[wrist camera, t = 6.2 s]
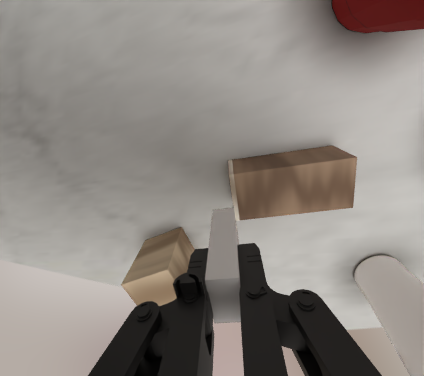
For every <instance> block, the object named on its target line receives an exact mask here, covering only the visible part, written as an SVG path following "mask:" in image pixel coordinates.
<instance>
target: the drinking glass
mask: <svg viewBox="0 0 424 376" xmlns="http://www.w3.org/2000/svg"><path fill="white" fill-rule="evenodd" d="M354 277H355V281H356V284H357V285H358V287H359V288H360V290H361V291H362V293H363V294H364V296H365V297H366V299H367V301H368V302H369V304H370V306H371V308H372V309H373V311H374V313H375V315H376V316H377V318H378V320H379V322H380V323H381V325H382V327H383V329H384V330H385V332H386V334H387V336H388V338H389V339H390V341H391V343H392V344H393V346H394V348H395V350H396V352H397V354H398V355H399V357H400V359H401V361H402V362H403V364H404V366H405V368H406V369H407V371H408V373H409V375H410V376H424V283H423V282H422V281H420V280H419V279H418V278H417V277H416V276H414V275H413V274H412V273H411V272H410V271H409V270H408V269H407V268H406V267H405V266H404V265H402V264H401V263H400V262H399V261H398V260H396V259H395V258H392V257H390V256H384V255H379V256H373V257H370V258H368V259H366V260H364V261H363V262H361V263H360V264H359V265H358V267H357V268H356V270H355V274H354Z"/></svg>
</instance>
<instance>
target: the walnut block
mask: <svg viewBox="0 0 424 376" xmlns="http://www.w3.org/2000/svg"><path fill="white" fill-rule="evenodd" d="M356 164H357V157H355V156H353V155H351V154H349V153H347V152H345V151H343V150H341V149H339V148H336V147H334V146H325V147H318V148H311V149H304V150H297V151H290V152H283V153H276V154H269V155H262V156H255V157H248V158H241V159H234V160H228V167H229V180H230V187H231V194H232V201H233V207H234V211H235V218H236V221H237V220H246V219H255V218H264V217H273V216H282V215H291V214H300V213H309V212H318V211H327V210H336V209H345V208H353V201H354V189H355V176H356Z"/></svg>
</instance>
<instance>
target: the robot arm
mask: <svg viewBox="0 0 424 376" xmlns="http://www.w3.org/2000/svg"><path fill="white" fill-rule="evenodd" d="M173 287H174V290H175V294H176V297H177V298H176V299H175V300H173V301H172V302H169V303H167V304H164V305H161V306H158V304H157V303H156V302H153V301H146V302H143V303H141V304H139V305H138V306H136V307H135V308H134V310H133V311H132V312H131V313H130V315H129V316H128V318H127V319H126V321H125V322H124V324H123V325H122V327H121V328H120V329H119V331H118V333H117V334H116V335H115V337H114V338H113V340H112V341H111V343H110V344H109V346H108V347H107V349H106V350H105V351H104V353H103V354H102V356H101V357H100V359H99V360H98V362H97V363H96V365H95V366H94V368H93V369H92V371H91V372H90V374H89V375H88V376H212V371H213V349H214V331H213V319H214V323H230V322H241V331H242V347H243V362H244V376H288V374H287V369H286V365H285V360H284V356H283V351H282V346H284V347H287V348H290V349H292V351H293V353H294V355H295V357H296V358H297V361H298V363H299V365H300V367H301V369H302V371H303V373H304V375H305V376H382V375H381V374H380V373H379V372H378V370H377V369H376V368H375V366H374V365H373V364H372V363H371V361H370V360H369V359H368V358H367V356H366V355H365V354H364V352H363V351H362V350H361V349H360V347H359V346H358V345H357V343H356V342H355V341H354V340H353V338H352V337H351V336H350V335H349V333H348V332H347V331H346V329H345V328H344V327H343V326H342V324H341V323H340V322H339V320H338V319H337V318H336V317H335V315H334V314H333V313H332V311H331V310H330V309H329V308H328V306H327V305H326V304H325V303H324V301H323V300H322V299H321V298H320V297H319V296H318V295H317V294H316V293H314V292H312V291H309V290H304V289H302V290H296V291H294V292H292V293H291V295H290V296H288V295H283V294H280V293H277V292H275V291H273V290H272V289H271V288H270V287H269V286H268V285H267V282H266V278H265V273H264V269H263V264H262V259H261V255H260V250H259V248H258V247H257V245H256V244H255V243H250V244H240V245H239V240H238V232H237V225H236V218H235V211H234V207H233V208H224V209H215V210H213V213H212V222H211V231H210V239H209V248H204V249H195V250H194V252H193V253H192V254H191V256H190V260H189V265H188V270H187V273H183V274H181V275H180V276H178V277H177V278H176V279H175V280H174V282H173Z"/></svg>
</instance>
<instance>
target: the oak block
mask: <svg viewBox="0 0 424 376" xmlns="http://www.w3.org/2000/svg"><path fill="white" fill-rule="evenodd" d="M194 250H195V249H194V248H193V246H192V244H191V242H190V241H189V239H188V237H187V236H186V234H185V232H184V230H183V229H182V227H180V228H178V229H175V230H172V231H169V232H167V233H164V234H161V235H159V236H156V237H153V238H150V239H148V240H145V242H144V244H143V246H142V248H141V249H140V251H139V253H138V255H137V257H136V259H135V260H134V262H133V264H132V266H131V268H130V270H129V271H128V273H127V275H126V277H125V279H124V281H123V282H122V284H121V285H122V287H123V288H124V289H125V291H126V292H127V293H128V294H129V296H130V297H131V298H132V299H133V301H134V302H135V303H136V305H137V306H138V305H139V304H141V303H143V302H146V301H153V302H156V303H157V304H158V306H161V305H164V304H167V303H169V302H172V301H173V300H175V299H176V298H177V297H176V294H175V290H174V287H173V282H174V280H175V279H176V278H177V277H178V276H180V275H181V274H183V273H187V270H188V265H189V260H190V256H191V254H192V253H193V252H194Z"/></svg>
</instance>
